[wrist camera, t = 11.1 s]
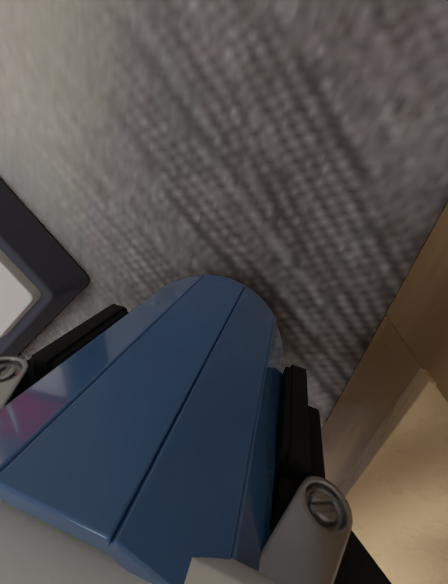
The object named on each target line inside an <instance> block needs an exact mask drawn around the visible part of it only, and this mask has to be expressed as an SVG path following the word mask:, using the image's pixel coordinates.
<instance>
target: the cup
mask: <svg viewBox="0 0 448 584" xmlns="http://www.w3.org/2000/svg"><path fill="white" fill-rule="evenodd" d="M283 360H284V348H283V344H282V340H281V336H280V332H279V328H278V325H277V321H276V317H275V316H274V314H273V313H272V312H271V310H270V309H269V307H268V306H267V304H266V303H265V302H264V301H263V300H262V299H261V297H259V296H258V295H257V294H256V293H255V292H254V291H252V290H251V289H250V288H248V287H247V286H245V285H243V284H241V283H239V282H237V281H235V280H232V279H230V278H227V277H222V276H218V275H207V274H206V275H204V274H202V275H196V276H191V277H188V278H185V279H181V280H176V281H172V282H170V283H168V284H167V285H165V286H164V287H163V288H161V289H160V290H159V291H157V292H156V293H155V294H153V295H152V296H151V297H149V298H148V299H147V300H145V301H144V302H143V303H141V304H140V305H139V306H137V307H136V308H135V309H133V310H132V311H131V312H129V313H128V314H127V315H125V316H124V317H123V318H121V319H120V320H119V321H117V322H116V323H115V324H113V325H112V326H111V327H109V328H108V329H107V330H105V331H104V332H103V333H101V334H100V335H99V336H97V337H96V338H95V339H93V340H92V341H91V342H89V343H88V344H87V345H85V346H84V347H83V348H81V349H80V350H79V351H77V352H76V353H75V354H73V355H72V356H71V357H69V358H68V359H67V360H65V361H64V362H63V363H61V364H60V365H59V366H57V367H56V368H55V369H53V370H52V371H51V372H49V373H48V374H47V375H45V376H44V377H43V378H41V379H40V380H39V381H37V382H36V383H35V384H34V385H32V386H31V387H30V388H28V389H27V390H26V391H24V392H23V393H22V394H20V395H19V396H18V397H16V398H15V399H14V400H12V401H11V402H10V403H8V404H7V405H6V406H4V407H3V408H2V409H0V500H2V501H4V502H6V503H8V504H10V505H12V506H14V507H16V508H18V509H20V510H22V511H24V512H26V513H28V514H30V515H32V516H34V517H36V518H38V519H40V520H42V521H44V522H46V523H48V524H50V525H52V526H54V527H56V528H58V529H60V530H62V531H64V532H66V533H68V534H70V535H72V536H74V537H76V538H78V539H80V540H82V541H83V542H85V543H87V544H89V545H91V546H93V547H95V548H97V549H99V550H101V551H103V552H105V553H106V554H107V555H109V556H110V557H111V558H112V559H113V560H115V561H116V562H117V563H118V564H120V565H121V566H122V567H123V568H124V569H126V570H127V571H128V572H130V573H132V574H134V575H136V576H138V577H140V578H142V579H144V580H146V581H148V582H150V583H152V584H184V582H185V579H186V576H187V573H188V570H189V566H190V563H191V560H192V557H204V558H220V559H228V560H230V558H233V559H235V560H237V561H239V562H241V563H243V564H245V565H247V566H249V567H251V568H253V569H255V570H257V571H259V564H260V554H261V552H262V550H263V548H264V546H265V545H266V543H267V541H268V540H269V535H270V523H271V510H272V498H273V485H274V473H275V458H276V446H277V433H278V421H279V408H280V396H281V384H282V372H283Z"/></svg>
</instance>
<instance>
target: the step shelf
mask: <svg viewBox="0 0 448 584" xmlns="http://www.w3.org/2000/svg"><path fill="white" fill-rule="evenodd" d="M321 436H322V446H323V457H324V467H325V478H326V479H327V480H328V481H330V482H331V483H333V484H334V485H335V486H336V487H337V488H338V489H339V490H340V491H341V492H342V494H343V495H344V497H345V498H346V500H347V501H348V504H349V506H350V508H351V511H352V517H353V525H352V531H353V532H354V534H355V535H356V536H357V538H358V539H359V540H360V542H361V543H362V545H363V546H364V547H365V549H366V550H367V551H368V553H369V554H370V555H371V557H372V558H373V559H374V561H375V562H376V563H377V565H378V566H379V567H380V569H381V570H382V571H383V573H384V574H385V575H386V577H387V578H388V579H389V581H390V582H391V583H392V584H448V203H447V205H446V207H445V208H444V210H443V212H442V214H441V216H440V217H439V219H438V221H437V223H436V225H435V226H434V228H433V230H432V232H431V234H430V235H429V237H428V239H427V241H426V243H425V244H424V246H423V248H422V250H421V251H420V253H419V255H418V257H417V259H416V260H415V262H414V264H413V266H412V268H411V269H410V271H409V273H408V275H407V277H406V278H405V280H404V282H403V284H402V286H401V287H400V289H399V291H398V293H397V295H396V296H395V298H394V300H393V302H392V304H391V305H390V307H389V309H388V311H387V313H386V316H385V317H384V319H383V321H382V322H381V324H380V326H379V328H378V330H377V331H376V333H375V335H374V337H373V339H372V340H371V342H370V344H369V346H368V348H367V349H366V351H365V353H364V355H363V357H362V358H361V360H360V362H359V364H358V366H357V367H356V369H355V371H354V373H353V374H352V376H351V378H350V380H349V382H348V383H347V385H346V387H345V389H344V391H343V392H342V394H341V396H340V398H339V400H338V401H337V403H336V405H335V407H334V409H333V410H332V412H331V414H330V416H329V418H328V419H327V421H326V423H325V425H324V427H323V428H322V430H321Z"/></svg>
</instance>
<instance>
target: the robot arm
mask: <svg viewBox="0 0 448 584" xmlns="http://www.w3.org/2000/svg"><path fill="white" fill-rule="evenodd" d="M128 313H129V312H127V309H126V308H125V307H122V306H119V305H116V304H112V305H110V306H109V307H107V308H106V309H104V310H102V311H101V312H99V313H98V314H96V315H95V316H93V317H91V318H90V319H88V320H87V321H85V322H84V323H82V324H80V325H79V326H77V327H76V328H74V329H73V330H71V331H69V332H68V333H66V334H65V335H63V336H62V337H60V338H58V339H57V340H55V341H54V342H52V343H51V344H49V345H48V346H46V347H44V348H43V349H41V350H40V351H38V352H37V353H35V354H33V355H32V358H31V359H29V360H27V361H26V360H25V359H23V358H21V357H17V356H3V357H0V409H2V408H3V407H4V406H6V405H7V404H8V403H10V402H11V401H12V400H14V399H15V398H16V397H18V396H19V395H20V394H22V393H23V392H24V391H26V390H27V389H28V388H30V387H31V386H32V385H34V384H35V383H36V382H37V381H39V380H40V379H41V378H43V377H44V376H45V375H47V374H48V373H49V372H51V371H52V370H53V369H55V368H56V367H57V366H59V365H60V364H61V363H63V362H64V361H65V360H67V359H68V358H69V357H71V356H72V355H73V354H75V353H76V352H77V351H79V350H80V349H81V348H83V347H84V346H85V345H87V344H88V343H89V342H91V341H92V340H93V339H95V338H96V337H97V336H99V335H100V334H101V333H103V332H104V331H105V330H107V329H108V328H109V327H111V326H112V325H113V324H115V323H116V322H117V321H119V320H120V319H121V318H123V317H124V316H125V315H127V314H128ZM352 525H353V517H352V511H351V508H350V506H349V504H348V501H347V500H346V498H345V497H344V495H343V494H342V492H341V491H340V490H339V489H338V488H337V487H336V486H335V485H334V484H333V483H331V482H330V481H328V480H327V479H326V478H325V467H324V457H323V446H322V436H321V426H320V415H319V411H318V409H316V408H313V407H310V406H308V395H307V375H306V369H303V368H301V367H298V366H295V365H291V367H290V368H289V367H285V369H284V372H283V374H282V384H281V396H280V408H279V421H278V433H277V446H276V458H275V473H274V485H273V498H272V510H271V523H270V535H269V540H268V541H267V543H266V545H265V546H264V548H263V550H262V552H261V554H260V564H259V571H257V570H255V569H253V568H251V567H249V566H247V565H245V564H243V563H241V562H239V561H237V560H235V559H233V558H230V560H228V559H220V558H204V557H192V560H191V563H190V566H189V570H188V573H187V576H186V579H185V582H184V584H392V583H391V582H390V581H389V579H388V578H387V577H386V575H385V574H384V573H383V571H382V570H381V569H380V567H379V566H378V565H377V563H376V562H375V561H374V559H373V558H372V557H371V555H370V554H369V553H368V551H367V550H366V549H365V547H364V546H363V545H362V543H361V542H360V540H359V539H358V538H357V536H356V535H355V534H354V532H353V531H352ZM0 584H152V583H150V582H148V581H146V580H144V579H142V578H140V577H138V576H136V575H134V574H132V573H130V572H128V571H127V570H126V569H124V568H123V567H122V566H121V565H120V564H118V563H117V562H116V561H115V560H113V559H112V558H111V557H110V556H109V555H107V554H106V553H105V552H103V551H101V550H99V549H97V548H95V547H93V546H91V545H89V544H87V543H85V542H83V541H82V540H80V539H78V538H76V537H74V536H72V535H70V534H68V533H66V532H64V531H62V530H60V529H58V528H56V527H54V526H52V525H50V524H48V523H46V522H44V521H42V520H40V519H38V518H36V517H34V516H32V515H30V514H28V513H26V512H24V511H22V510H20V509H18V508H16V507H14V506H12V505H10V504H8V503H6V502H4V501H2V500H0Z"/></svg>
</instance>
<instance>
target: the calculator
mask: <svg viewBox="0 0 448 584" xmlns="http://www.w3.org/2000/svg"><path fill="white" fill-rule="evenodd" d="M88 282H89V280H88V277H87V275H86V274H85V273H84V272H83V271H82V270H81V268H80V267H79V266H78V265H77V264H76V263H75V262H74V261H73V259H72V258H71V257H70V256H69V255H68V254H67V253H66V252H65V251H64V249H63V248H62V247H61V246H60V245H59V244H58V243H57V242H56V241H55V239H54V238H53V237H52V236H51V235H50V234H49V233H48V232H47V231H46V229H45V228H44V227H43V226H42V225H41V224H40V223H39V222H38V220H37V219H36V218H35V217H34V216H33V215H32V214H31V213H30V212H29V210H28V209H27V208H26V207H25V206H24V205H23V204H22V203H21V202H20V200H19V199H18V198H17V197H16V196H15V195H14V194H13V193H12V191H11V190H10V189H9V188H8V187H7V186H6V185H5V184H4V183H3V181H2V180H1V179H0V357H3V356H17V357H18V354H19V353H20V352H21V351H22V350H23V349H24V348H25V347H26V346H27V345H28V344H29V343H30V342H31V341H32V340H33V339H34V338H35V337H36V336H37V335H38V334H39V333H40V332H41V331H42V330H43V329H44V328H45V327H46V326H47V325H48V324H49V323H50V322H51V321H52V320H53V319H54V318H55V317H56V316H57V315H58V314H59V313H60V312H61V311H62V310H63V309H64V308H65V307H66V306H67V305H68V304H69V303H70V302H71V301H72V300H73V299H74V298H75V297H76V296H77V295H78V294H79V293H80V292H81V291H82V290H83V289H84V288H85V287H86V285H87V284H88Z"/></svg>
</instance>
